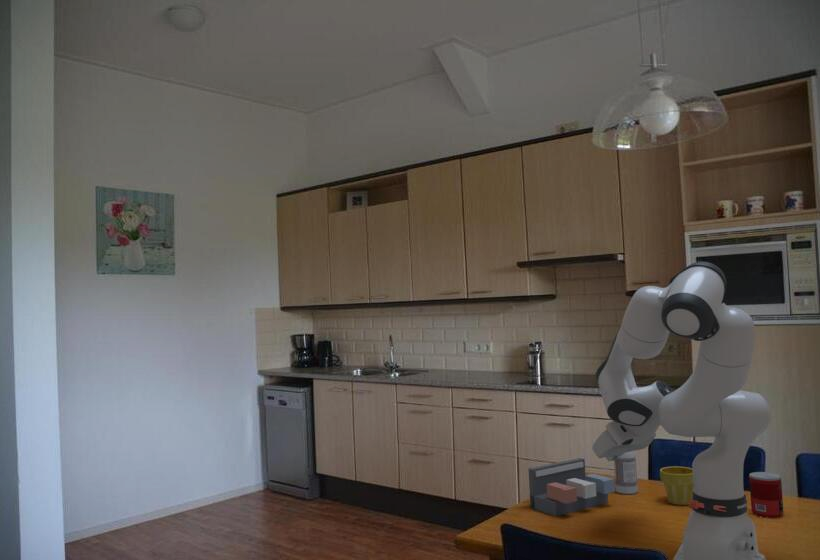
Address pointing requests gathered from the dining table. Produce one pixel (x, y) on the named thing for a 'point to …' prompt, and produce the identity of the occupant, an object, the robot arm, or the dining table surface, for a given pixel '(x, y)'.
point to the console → (559, 475)
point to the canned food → (766, 494)
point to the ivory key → (582, 487)
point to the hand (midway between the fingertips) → (610, 458)
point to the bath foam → (626, 473)
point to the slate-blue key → (601, 483)
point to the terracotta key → (561, 492)
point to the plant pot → (678, 484)
